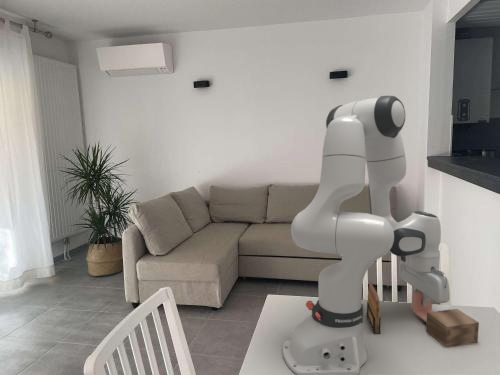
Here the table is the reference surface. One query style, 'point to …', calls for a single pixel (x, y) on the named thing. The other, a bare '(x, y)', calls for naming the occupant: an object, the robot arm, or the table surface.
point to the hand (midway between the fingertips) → (421, 303)
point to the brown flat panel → (373, 310)
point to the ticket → (420, 305)
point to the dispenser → (452, 327)
